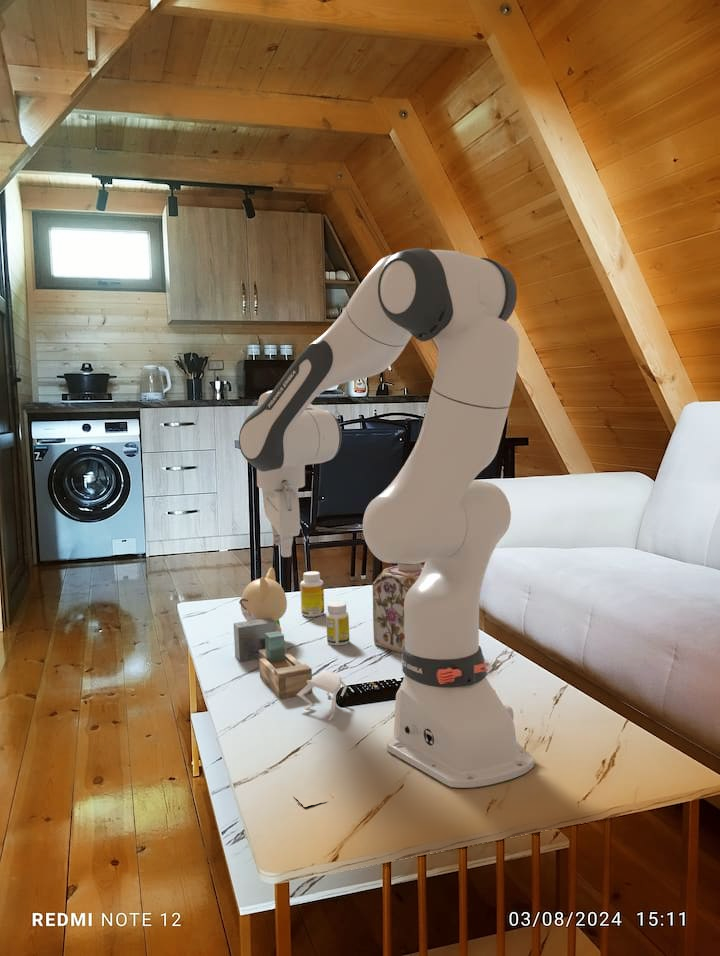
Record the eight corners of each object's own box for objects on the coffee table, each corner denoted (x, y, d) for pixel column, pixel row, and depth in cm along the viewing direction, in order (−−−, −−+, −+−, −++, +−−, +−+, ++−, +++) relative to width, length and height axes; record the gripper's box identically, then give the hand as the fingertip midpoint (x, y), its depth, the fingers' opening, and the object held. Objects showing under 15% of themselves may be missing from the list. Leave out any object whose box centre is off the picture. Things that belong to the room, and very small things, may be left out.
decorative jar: (372, 645, 164) (369, 561, 162) (411, 632, 171) (409, 552, 170) (412, 658, 155) (410, 569, 153) (452, 644, 163) (450, 559, 161)
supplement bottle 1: (326, 616, 186) (324, 574, 185) (303, 618, 185) (301, 576, 184) (322, 610, 191) (320, 569, 190) (299, 612, 190) (298, 571, 189)
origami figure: (290, 702, 134) (289, 675, 134) (335, 693, 138) (334, 666, 137) (317, 728, 124) (316, 698, 123) (364, 717, 127) (363, 688, 127)
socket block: (277, 655, 159) (276, 621, 158) (239, 661, 156) (238, 627, 155) (272, 650, 162) (271, 617, 161) (235, 656, 159) (233, 623, 158)
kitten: (251, 629, 178) (248, 564, 176) (294, 629, 177) (291, 564, 175) (234, 650, 163) (231, 580, 161) (281, 650, 162) (278, 580, 160)
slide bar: (301, 684, 139) (299, 647, 138) (285, 687, 138) (283, 650, 137) (273, 658, 153) (271, 624, 153) (258, 661, 152) (257, 627, 152)
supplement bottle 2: (350, 639, 168) (349, 601, 167) (348, 646, 163) (346, 607, 163) (328, 639, 169) (327, 601, 168) (325, 646, 164) (324, 607, 163)
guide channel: (312, 692, 138) (311, 668, 138) (280, 699, 136) (279, 674, 135) (290, 671, 149) (289, 649, 149) (260, 677, 147) (259, 654, 146)
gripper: (308, 484, 135) (308, 562, 137) (289, 469, 154) (290, 537, 156) (271, 486, 133) (273, 565, 135) (257, 470, 153) (258, 539, 155)
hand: (282, 550), depth 146 cm, fingers open, 8 cm apart
